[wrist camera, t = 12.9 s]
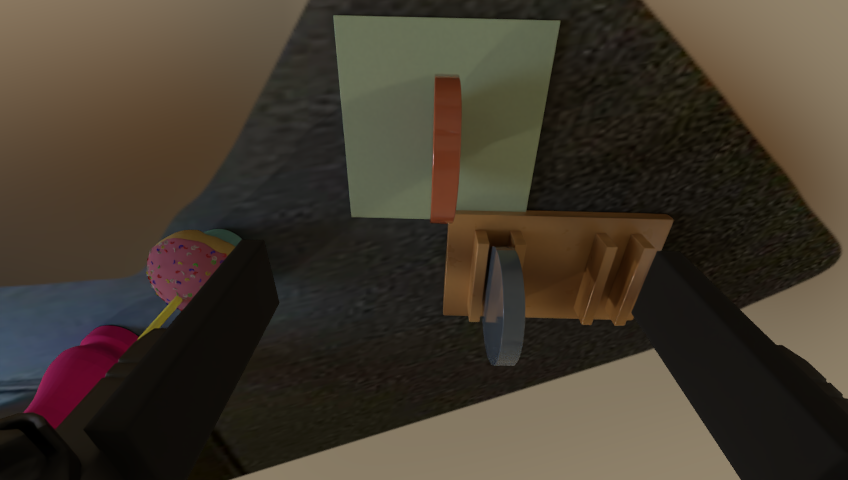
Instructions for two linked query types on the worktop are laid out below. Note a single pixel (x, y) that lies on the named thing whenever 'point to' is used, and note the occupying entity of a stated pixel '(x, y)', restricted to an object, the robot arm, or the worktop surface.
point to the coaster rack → (556, 260)
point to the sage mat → (413, 104)
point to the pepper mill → (79, 372)
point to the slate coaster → (503, 306)
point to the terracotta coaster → (445, 147)
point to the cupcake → (185, 266)
